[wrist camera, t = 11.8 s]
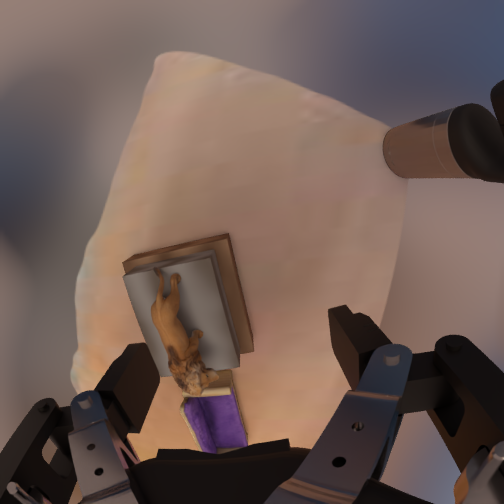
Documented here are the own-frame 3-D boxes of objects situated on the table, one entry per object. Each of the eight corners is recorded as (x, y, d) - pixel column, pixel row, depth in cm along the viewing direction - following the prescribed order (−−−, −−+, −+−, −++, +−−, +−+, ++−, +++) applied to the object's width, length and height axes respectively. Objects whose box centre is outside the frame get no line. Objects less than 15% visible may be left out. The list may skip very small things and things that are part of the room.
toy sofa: (249, 436, 53) (250, 470, 43) (211, 438, 53) (207, 472, 43) (232, 366, 49) (230, 402, 39) (186, 369, 49) (176, 405, 39)
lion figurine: (225, 353, 36) (222, 396, 28) (192, 365, 37) (181, 407, 28) (172, 257, 33) (149, 280, 25) (137, 274, 34) (107, 300, 25)
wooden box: (228, 233, 43) (224, 246, 33) (252, 336, 47) (255, 370, 37) (134, 254, 43) (107, 272, 34) (166, 349, 47) (151, 383, 37)
